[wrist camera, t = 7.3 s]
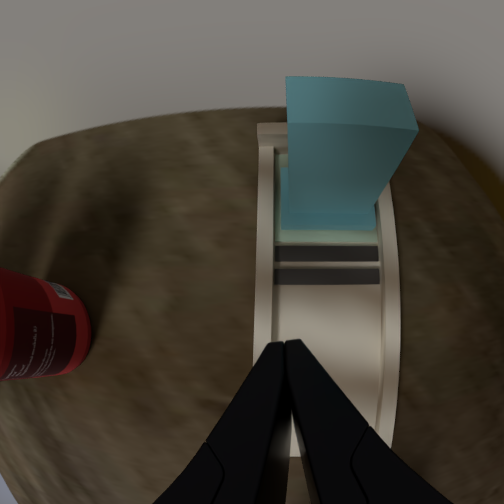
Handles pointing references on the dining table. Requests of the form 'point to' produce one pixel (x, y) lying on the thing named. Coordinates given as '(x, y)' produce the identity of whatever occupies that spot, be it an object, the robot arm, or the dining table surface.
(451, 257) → the dining table surface
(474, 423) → the dining table surface
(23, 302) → the canned food
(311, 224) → the slider
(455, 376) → the dining table surface
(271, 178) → the box
